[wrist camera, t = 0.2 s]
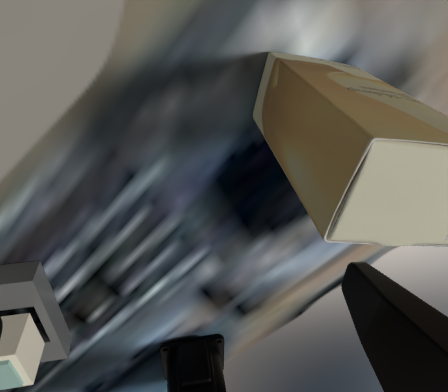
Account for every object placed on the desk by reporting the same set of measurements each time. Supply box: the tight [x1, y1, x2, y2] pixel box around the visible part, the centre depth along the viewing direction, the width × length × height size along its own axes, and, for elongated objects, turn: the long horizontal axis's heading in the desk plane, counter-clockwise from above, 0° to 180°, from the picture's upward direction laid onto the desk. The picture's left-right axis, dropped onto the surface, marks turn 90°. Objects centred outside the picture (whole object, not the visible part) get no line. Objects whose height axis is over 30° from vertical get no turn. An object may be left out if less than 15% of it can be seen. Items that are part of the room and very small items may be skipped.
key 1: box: [0, 313, 45, 390], centre depth 25 cm, size 4×4×4 cm
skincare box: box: [253, 52, 448, 247], centre depth 17 cm, size 6×4×12 cm
